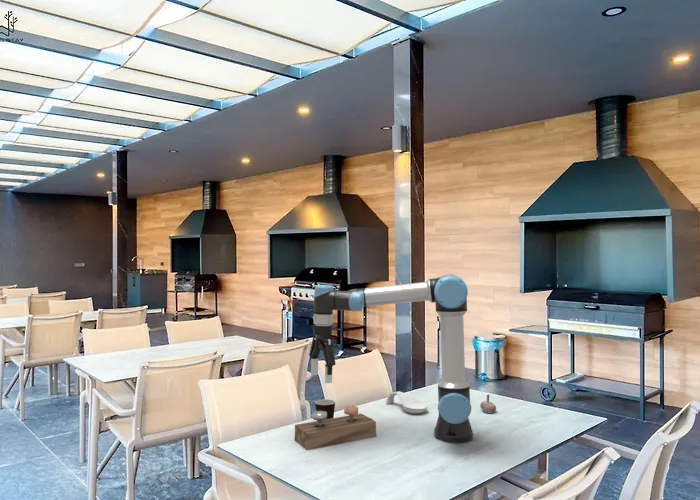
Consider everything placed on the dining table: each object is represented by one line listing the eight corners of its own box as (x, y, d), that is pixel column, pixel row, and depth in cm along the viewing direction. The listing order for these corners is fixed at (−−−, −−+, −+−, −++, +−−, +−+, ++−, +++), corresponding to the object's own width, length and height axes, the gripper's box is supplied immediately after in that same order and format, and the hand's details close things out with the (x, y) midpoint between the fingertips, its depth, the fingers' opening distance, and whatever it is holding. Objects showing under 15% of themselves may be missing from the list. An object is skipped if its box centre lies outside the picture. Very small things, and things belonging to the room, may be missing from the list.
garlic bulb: (483, 408, 243) (483, 391, 243) (499, 411, 239) (498, 394, 239) (477, 412, 237) (477, 395, 237) (493, 415, 233) (493, 397, 233)
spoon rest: (432, 413, 236) (432, 397, 237) (414, 418, 229) (414, 402, 229) (397, 402, 255) (397, 387, 255) (379, 406, 248) (379, 391, 248)
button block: (376, 436, 205) (376, 421, 205) (307, 450, 190) (307, 433, 190) (361, 427, 215) (361, 413, 215) (294, 440, 201) (294, 424, 201)
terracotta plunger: (360, 428, 205) (360, 408, 205) (348, 431, 202) (348, 410, 203) (354, 424, 210) (353, 405, 210) (341, 426, 207) (341, 407, 208)
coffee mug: (332, 429, 213) (332, 405, 213) (312, 428, 215) (312, 404, 215) (338, 421, 225) (338, 398, 225) (319, 419, 226) (319, 397, 226)
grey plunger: (329, 434, 198) (329, 413, 199) (316, 436, 196) (316, 415, 196) (323, 430, 203) (323, 410, 203) (310, 432, 201) (310, 412, 201)
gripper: (302, 320, 210) (300, 372, 210) (327, 329, 188) (325, 387, 188) (319, 320, 214) (317, 371, 213) (345, 328, 191) (343, 385, 191)
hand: (321, 379), depth 201 cm, fingers open, 13 cm apart
